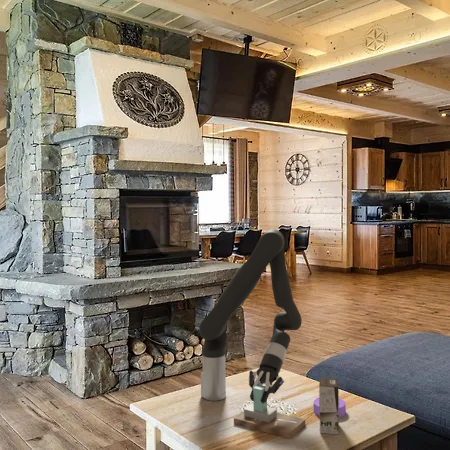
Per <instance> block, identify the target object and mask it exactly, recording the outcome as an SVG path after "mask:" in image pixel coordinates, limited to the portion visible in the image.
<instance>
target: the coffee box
mask: <svg viewBox="0 0 450 450" xmlns="http://www.w3.org/2000/svg"><path fill="white" fill-rule="evenodd" d="M318 382H319V386H318V388H319V389H318V390H319V395H318V396H319V397H318V398H319V405H320V416H319V433H320V434H328V435H339V428H340V427H339V426H340V424H339V422H340V421H339V419H340V418H339V398H340V397H339V393H340V392H339V380H338V378H337V377H336V378H335V377H319V381H318Z"/></svg>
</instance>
